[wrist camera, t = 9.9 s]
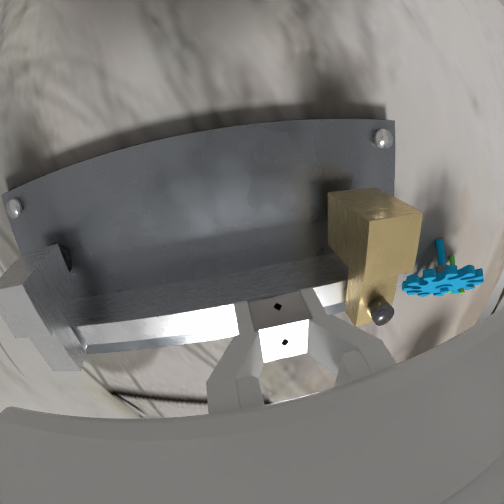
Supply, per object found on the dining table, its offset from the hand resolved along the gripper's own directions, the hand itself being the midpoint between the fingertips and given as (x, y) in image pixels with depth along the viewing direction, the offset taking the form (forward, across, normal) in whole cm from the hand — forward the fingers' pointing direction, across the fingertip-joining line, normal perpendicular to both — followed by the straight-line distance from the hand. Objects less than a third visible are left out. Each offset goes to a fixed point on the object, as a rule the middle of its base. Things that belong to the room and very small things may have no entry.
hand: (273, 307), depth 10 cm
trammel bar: (+11, +3, +4) cm, 12 cm away
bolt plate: (+12, +3, +4) cm, 13 cm away
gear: (+12, -21, +11) cm, 26 cm away
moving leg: (+10, -8, +4) cm, 14 cm away
